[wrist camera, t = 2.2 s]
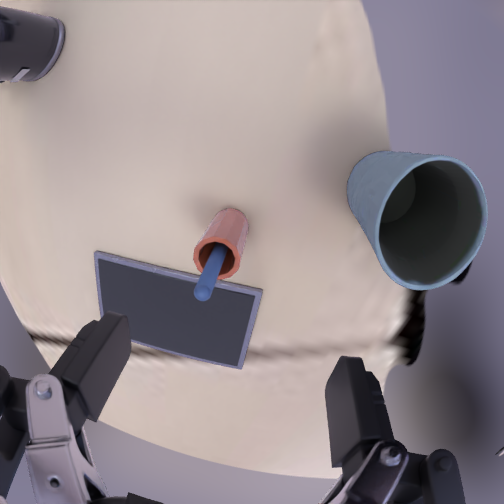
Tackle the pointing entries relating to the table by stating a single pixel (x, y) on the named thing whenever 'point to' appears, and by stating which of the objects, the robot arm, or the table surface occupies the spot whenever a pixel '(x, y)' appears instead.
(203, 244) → the pen pot
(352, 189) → the blue-grey tapered bin
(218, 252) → the stylus
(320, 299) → the table surface
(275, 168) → the table surface
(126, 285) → the tablet
